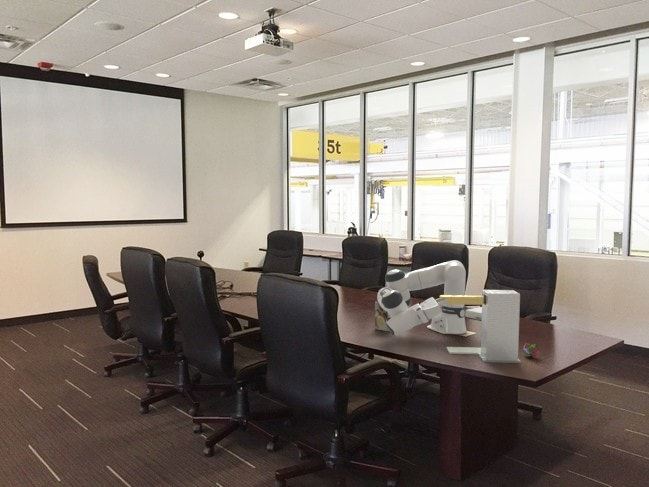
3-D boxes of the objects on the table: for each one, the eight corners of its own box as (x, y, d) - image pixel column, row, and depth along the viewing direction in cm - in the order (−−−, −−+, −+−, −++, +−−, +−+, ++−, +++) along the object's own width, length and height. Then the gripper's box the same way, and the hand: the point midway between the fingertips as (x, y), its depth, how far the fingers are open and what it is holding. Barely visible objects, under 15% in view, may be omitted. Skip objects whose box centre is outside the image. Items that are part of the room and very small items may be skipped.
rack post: (484, 362, 234) (485, 293, 232) (478, 355, 245) (480, 289, 243) (520, 362, 233) (522, 294, 231) (513, 355, 244) (515, 290, 242)
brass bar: (440, 304, 237) (440, 296, 237) (439, 302, 240) (439, 295, 240) (483, 304, 236) (483, 297, 235) (481, 303, 239) (481, 295, 239)
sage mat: (449, 353, 247) (449, 352, 247) (446, 348, 256) (446, 346, 256) (497, 354, 246) (497, 353, 246) (492, 349, 255) (492, 347, 254)
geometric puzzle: (545, 354, 239) (536, 338, 243) (535, 356, 235) (526, 340, 239) (534, 360, 244) (525, 344, 248) (524, 362, 241) (516, 346, 244)
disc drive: (510, 317, 328) (510, 309, 328) (489, 322, 314) (489, 314, 314) (486, 312, 342) (486, 305, 341) (465, 317, 328) (465, 309, 327)
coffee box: (394, 329, 294) (394, 301, 292) (387, 331, 289) (387, 302, 288) (381, 326, 300) (381, 299, 299) (374, 328, 295) (374, 300, 294)
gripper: (420, 314, 250) (445, 300, 249) (425, 324, 230) (453, 309, 228) (413, 303, 250) (439, 289, 248) (418, 311, 229) (446, 296, 228)
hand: (446, 298), depth 238 cm, fingers closed on brass bar, 3 cm apart
